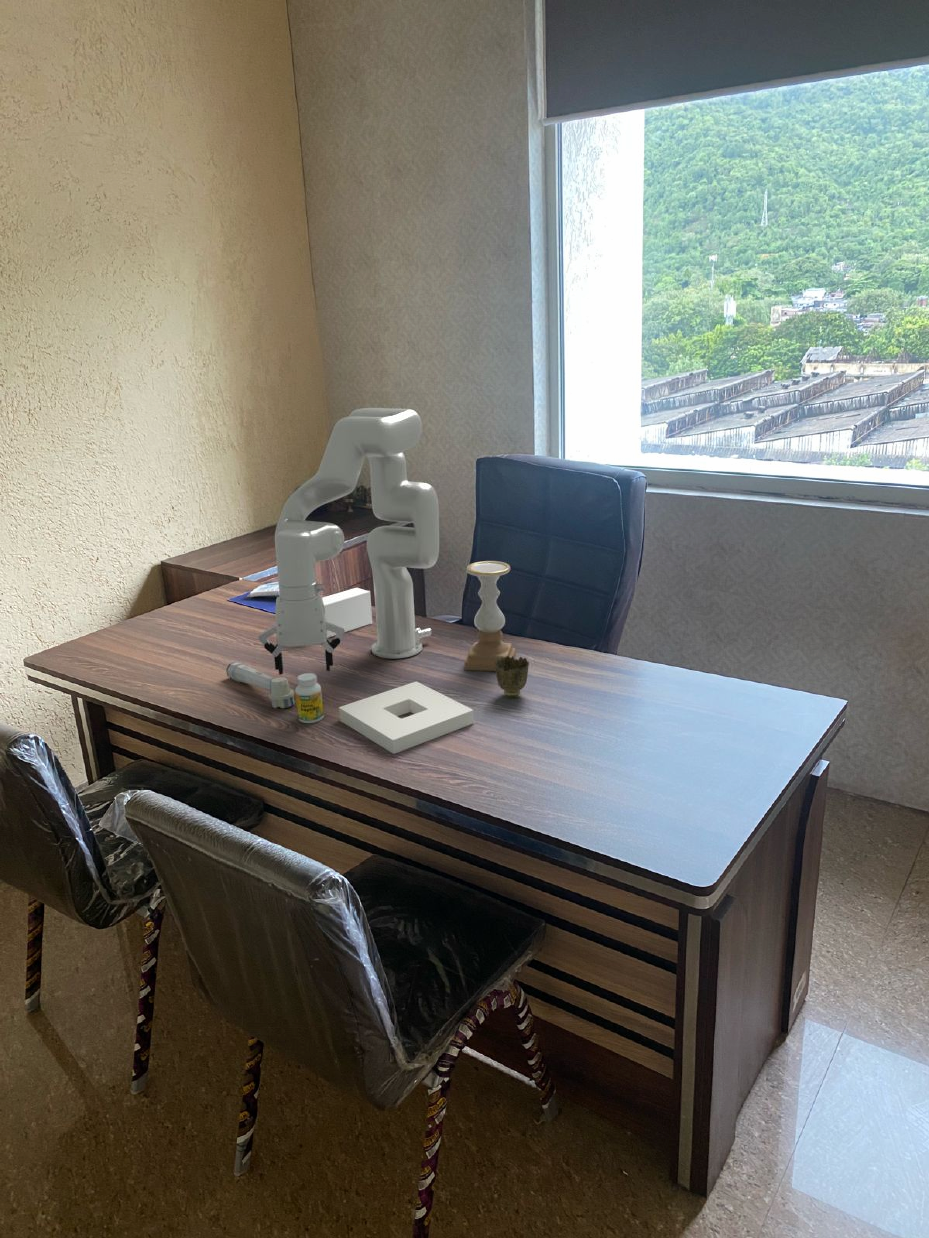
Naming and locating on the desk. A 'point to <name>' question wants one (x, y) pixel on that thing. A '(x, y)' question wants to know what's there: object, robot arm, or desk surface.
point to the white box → (348, 609)
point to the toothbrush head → (263, 683)
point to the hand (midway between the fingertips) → (304, 670)
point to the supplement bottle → (309, 698)
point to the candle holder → (488, 619)
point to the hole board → (399, 734)
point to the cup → (511, 675)
